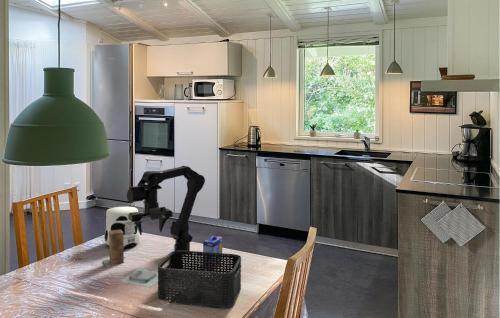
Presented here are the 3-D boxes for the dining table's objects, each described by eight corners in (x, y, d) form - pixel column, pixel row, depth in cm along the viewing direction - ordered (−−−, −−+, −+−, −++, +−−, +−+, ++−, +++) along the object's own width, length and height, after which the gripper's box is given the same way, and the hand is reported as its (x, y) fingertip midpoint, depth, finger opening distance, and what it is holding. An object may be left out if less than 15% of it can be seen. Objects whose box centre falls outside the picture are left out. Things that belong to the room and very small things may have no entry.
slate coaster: (125, 258, 189) (125, 256, 189) (130, 265, 180) (130, 264, 180) (102, 261, 184) (102, 260, 184) (107, 269, 175) (107, 267, 175)
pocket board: (138, 270, 175) (138, 266, 174) (167, 275, 170) (167, 270, 170) (118, 283, 161) (118, 278, 161) (149, 288, 157) (149, 283, 157)
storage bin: (154, 302, 147) (154, 266, 145) (173, 280, 166) (173, 248, 164) (232, 310, 142) (233, 273, 141) (242, 287, 161) (243, 254, 160)
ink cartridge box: (213, 270, 178) (213, 237, 176) (201, 267, 180) (202, 235, 178) (222, 262, 187) (223, 231, 185) (212, 260, 189) (212, 230, 187)
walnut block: (121, 259, 185) (120, 229, 184) (123, 263, 181) (123, 232, 179) (109, 261, 183) (109, 230, 181) (112, 264, 178) (111, 233, 177)
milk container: (113, 238, 217) (113, 205, 214) (145, 240, 215) (145, 206, 213) (98, 249, 199) (97, 213, 197) (132, 251, 198) (132, 215, 196)
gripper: (136, 205, 170) (136, 241, 172) (177, 201, 181) (177, 235, 183) (127, 200, 180) (128, 234, 181) (167, 196, 190) (167, 228, 192)
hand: (150, 233), depth 184 cm, fingers open, 9 cm apart
